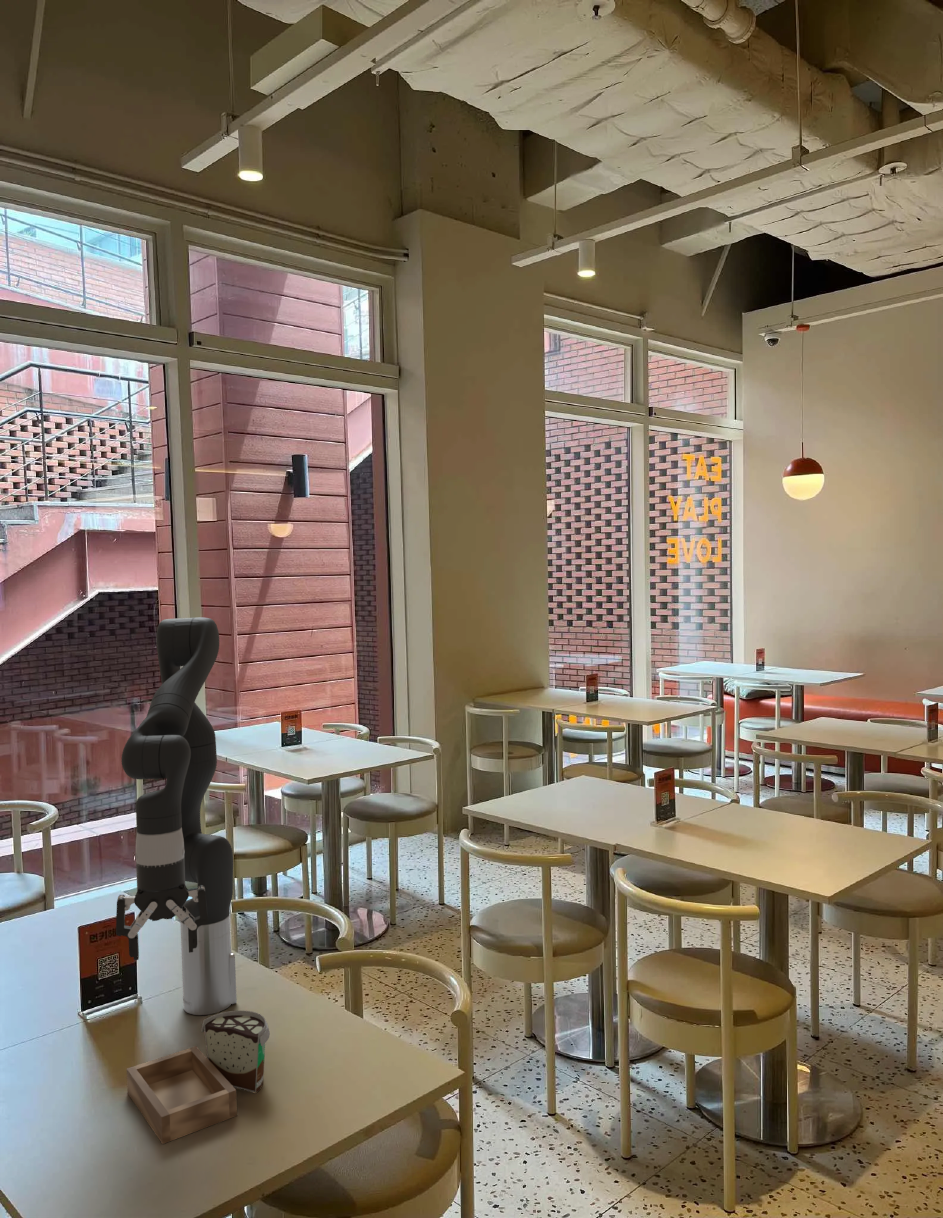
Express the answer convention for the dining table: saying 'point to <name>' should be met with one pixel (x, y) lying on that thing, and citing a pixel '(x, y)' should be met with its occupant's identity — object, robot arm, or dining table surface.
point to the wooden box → (181, 1094)
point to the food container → (237, 1047)
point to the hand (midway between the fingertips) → (163, 954)
